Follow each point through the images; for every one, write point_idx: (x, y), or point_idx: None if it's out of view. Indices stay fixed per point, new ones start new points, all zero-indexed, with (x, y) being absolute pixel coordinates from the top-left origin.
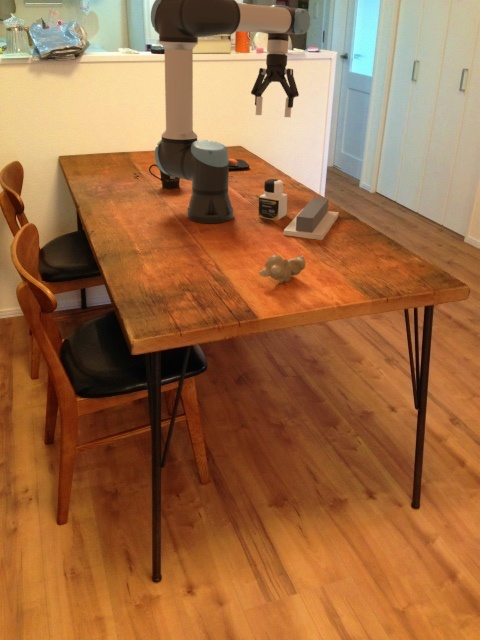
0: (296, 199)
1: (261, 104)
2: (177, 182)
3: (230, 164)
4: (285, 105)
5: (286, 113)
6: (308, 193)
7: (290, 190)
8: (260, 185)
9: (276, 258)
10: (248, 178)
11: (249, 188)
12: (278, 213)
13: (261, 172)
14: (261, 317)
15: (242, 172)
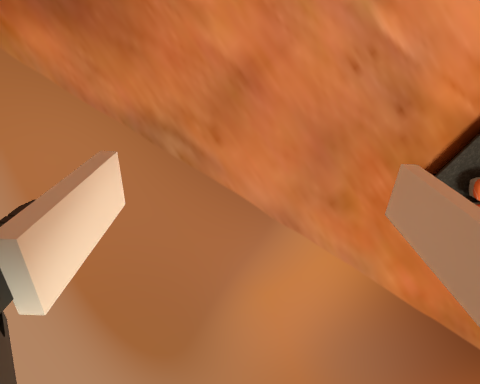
0: (93, 23)
1: (433, 258)
2: None
3: None
4: (69, 193)
5: (87, 162)
6: (111, 106)
7: (166, 98)
8: (266, 83)
9: None
10: (342, 128)
11: (274, 26)
12: None
13: (345, 210)
14: None
15: (396, 175)
